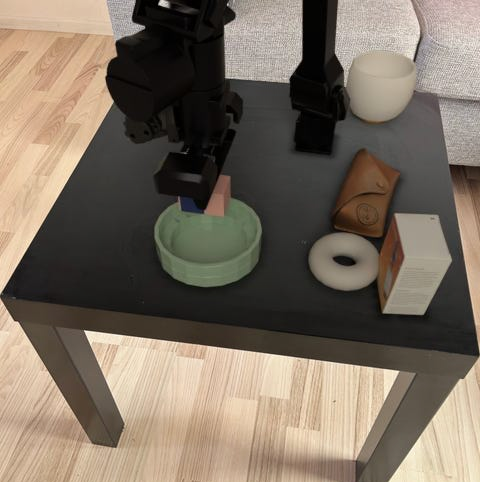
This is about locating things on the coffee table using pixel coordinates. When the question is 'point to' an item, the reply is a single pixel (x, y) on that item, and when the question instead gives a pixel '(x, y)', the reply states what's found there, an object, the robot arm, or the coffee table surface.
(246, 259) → the bowl
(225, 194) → the eraser
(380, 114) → the cup
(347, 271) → the donut
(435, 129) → the coffee table surface
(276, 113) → the coffee table surface
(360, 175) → the sunglasses case
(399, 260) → the small box
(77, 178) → the coffee table surface
